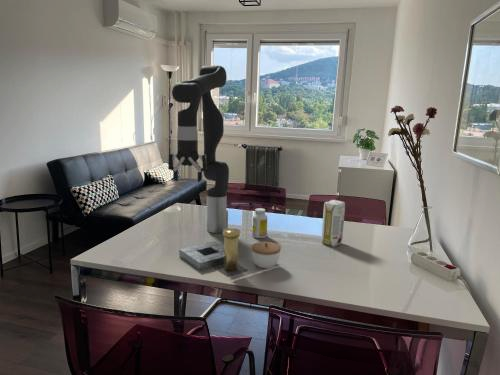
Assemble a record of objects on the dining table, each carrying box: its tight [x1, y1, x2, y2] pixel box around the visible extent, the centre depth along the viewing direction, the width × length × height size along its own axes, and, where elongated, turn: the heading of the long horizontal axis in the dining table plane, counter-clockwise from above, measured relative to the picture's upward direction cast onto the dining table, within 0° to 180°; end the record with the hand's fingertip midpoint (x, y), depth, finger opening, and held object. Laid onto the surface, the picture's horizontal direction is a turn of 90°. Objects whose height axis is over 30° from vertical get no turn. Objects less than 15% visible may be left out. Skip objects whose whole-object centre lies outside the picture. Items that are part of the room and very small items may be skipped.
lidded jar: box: [251, 241, 281, 270], centre depth 141 cm, size 11×11×9 cm
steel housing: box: [178, 240, 224, 272], centre depth 146 cm, size 16×16×4 cm
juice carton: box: [321, 199, 346, 247], centre depth 166 cm, size 8×9×19 cm
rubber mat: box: [213, 264, 249, 278], centre depth 138 cm, size 9×9×1 cm
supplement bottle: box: [252, 207, 268, 239], centre depth 173 cm, size 7×7×13 cm
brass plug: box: [222, 227, 241, 272], centre depth 136 cm, size 6×6×14 cm
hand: (187, 181), depth 144 cm, fingers open, 8 cm apart
